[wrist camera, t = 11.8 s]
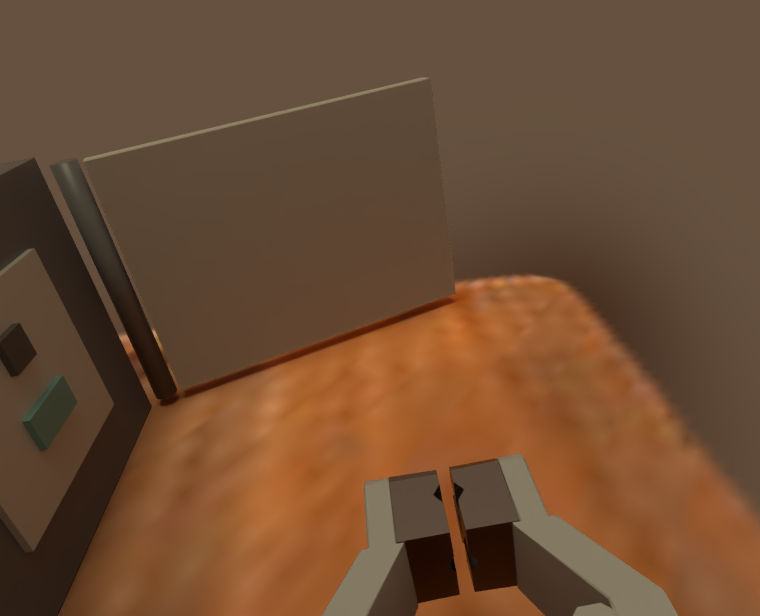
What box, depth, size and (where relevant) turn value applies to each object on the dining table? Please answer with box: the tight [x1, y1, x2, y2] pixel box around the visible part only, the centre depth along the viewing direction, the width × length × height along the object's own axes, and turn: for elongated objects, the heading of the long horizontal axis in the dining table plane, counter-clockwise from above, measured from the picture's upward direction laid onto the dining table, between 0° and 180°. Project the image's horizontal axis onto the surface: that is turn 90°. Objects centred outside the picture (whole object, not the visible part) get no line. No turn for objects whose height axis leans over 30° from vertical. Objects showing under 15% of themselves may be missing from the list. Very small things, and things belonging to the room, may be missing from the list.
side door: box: [49, 77, 456, 399], centre depth 26 cm, size 16×1×11 cm, turn 112°
